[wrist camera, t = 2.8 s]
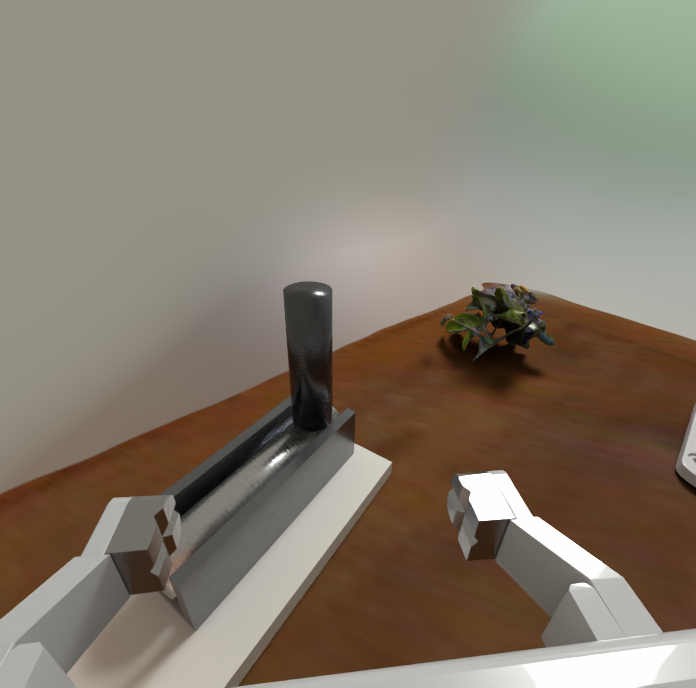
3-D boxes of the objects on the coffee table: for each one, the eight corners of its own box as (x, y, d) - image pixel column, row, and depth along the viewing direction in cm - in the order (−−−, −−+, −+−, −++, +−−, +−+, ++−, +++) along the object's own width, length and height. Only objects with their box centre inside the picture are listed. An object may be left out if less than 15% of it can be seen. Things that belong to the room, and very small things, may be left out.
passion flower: (500, 377, 55) (576, 332, 47) (462, 395, 48) (543, 346, 39) (458, 314, 58) (522, 262, 50) (416, 323, 51) (482, 264, 43)
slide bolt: (313, 424, 34) (308, 276, 27) (342, 438, 32) (345, 286, 25) (145, 574, 22) (59, 385, 15) (178, 608, 21) (99, 415, 14)
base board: (286, 420, 38) (285, 408, 37) (390, 474, 32) (392, 462, 31) (-181, 801, 16) (-206, 792, 16) (-116, 1174, 11) (-150, 1189, 10)
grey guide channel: (303, 427, 35) (301, 387, 33) (353, 453, 32) (355, 412, 30) (139, 572, 23) (117, 526, 21) (195, 631, 21) (178, 586, 18)
